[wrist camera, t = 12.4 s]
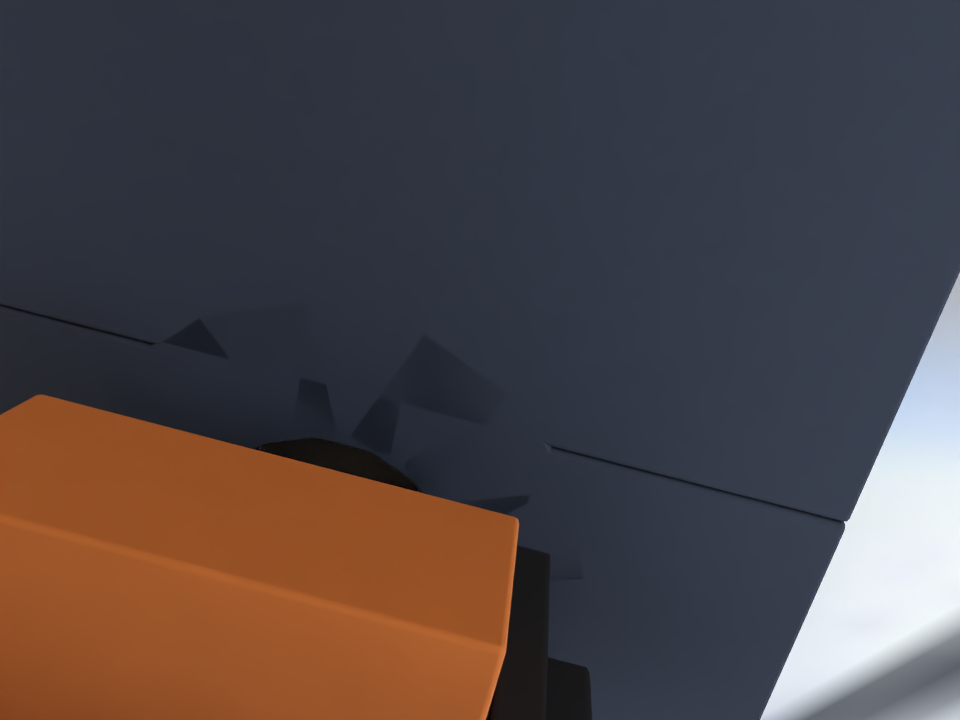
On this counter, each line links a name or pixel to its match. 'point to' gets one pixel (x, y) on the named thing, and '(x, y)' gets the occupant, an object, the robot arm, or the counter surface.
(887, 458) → the counter surface
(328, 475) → the top pad
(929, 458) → the counter surface
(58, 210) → the base pad
